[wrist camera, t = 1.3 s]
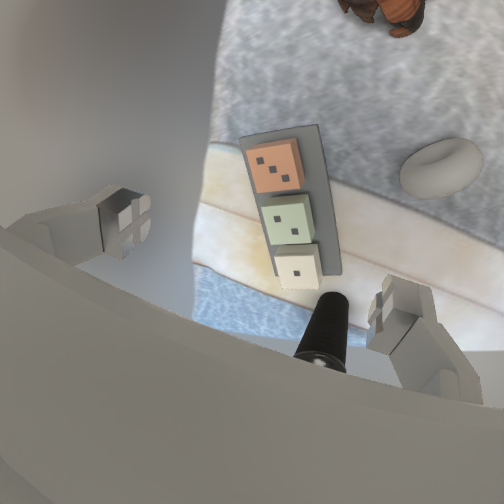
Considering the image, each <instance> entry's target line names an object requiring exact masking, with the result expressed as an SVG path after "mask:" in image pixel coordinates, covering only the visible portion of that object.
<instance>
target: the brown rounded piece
mask: <svg viewBox="0 0 504 504" xmlns="http://www.w3.org/2000/svg"><path fill="white" fill-rule="evenodd" d="M338 2H339V4H340V6H341V8H342V10H343V11H344V13H347V12H348V9H349V7H351V9H352V11H353V12H354V13H355V14H356V15H357V16H359V17H360V18H361V19H362V20H363V21H364V22H367V23H374V18H373V16H374V14H375V11H376V9H377V8H378V6H380V8H381V10H382V11H383V13H384V15H385V17H386V20H387V21H389V22H391V23H397V22H399V23H400V24H401V25H403V26H404V27H401V28H398V29H393V30H390V34H391V35H393V36H394V37H396V38H400V37H405V36H407V35H410V34H411V33H413V32H415V31H416V30H417V29H418V28H419V27H420V25H421V24H422V21H423V18H424V8H425V0H338Z"/></svg>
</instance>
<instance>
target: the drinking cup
mask: <svg viewBox="0 0 504 504" xmlns="http://www.w3.org/2000/svg"><path fill="white" fill-rule="evenodd" d="M348 309H349V303H348V300H347V298H346V297H345V296H344V295H342V294H340V293H337V292H327V293H325V294H323V295H322V296H321V297H320V299H319V301H318V303H317V306H316V308H315V310H314V313H313V315H312V317H311V319H310V322H309V324H308V326H307V328H306V331H305V333H304V335H303V337H302V339H301V342H300V344H299V346H298V348H297V350H296V353H295V355H294V356H293V357H294V358H298V359H301V360H304V361H307V362H310V363H313V364H316V365H319V366H323V367H326V368H329V369H333V370H336V371H339V372H343V373H346V368H345V361H346V347H347V330H348Z"/></svg>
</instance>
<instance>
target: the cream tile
mask: <svg viewBox="0 0 504 504" xmlns="http://www.w3.org/2000/svg"><path fill="white" fill-rule="evenodd" d="M274 259H275V263H276V267H277V271H278V275H279V279H280V283H281V287H282V289H319V288H320V284H321V281H322V277H323V275H322V269H321V263H320V257H319V251H318V245H317V244H305V245H283V246H279V248H278V250H277V252H276V254H275V256H274Z"/></svg>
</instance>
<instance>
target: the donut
mask: <svg viewBox="0 0 504 504" xmlns="http://www.w3.org/2000/svg"><path fill="white" fill-rule="evenodd" d="M482 165H483V156H482V153H481V151H480V150H479V148H478V146H477V145H476V144H475V143H474V142H472V141H470V140H467V139H463V138H452V139H446V140H443V141H439V142H436V143H434V144H431V145H429V146H427V147H425V148H423V149H421V150H419V151H418V152H416V153H414V154H413V155H412V156H411V157H409V158H408V159H407V160H406V161H405V163H404V164H403V165H402V167H401V170H400V175H399V181H400V184H401V186H402V187H403V189H404V190H405V192H406V193H407V194H409V195H410V196H413V197H416V198H419V199H435V198H441V197H445V196H448V195H451V194H454V193H456V192H458V191H460V190H462V189H464V188H465V187H467V186H468V185H469V184H470V183H472V182H473V181H474V180H475V179H476V178H477V176H478V175H479V174H480V172H481V169H482Z"/></svg>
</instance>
